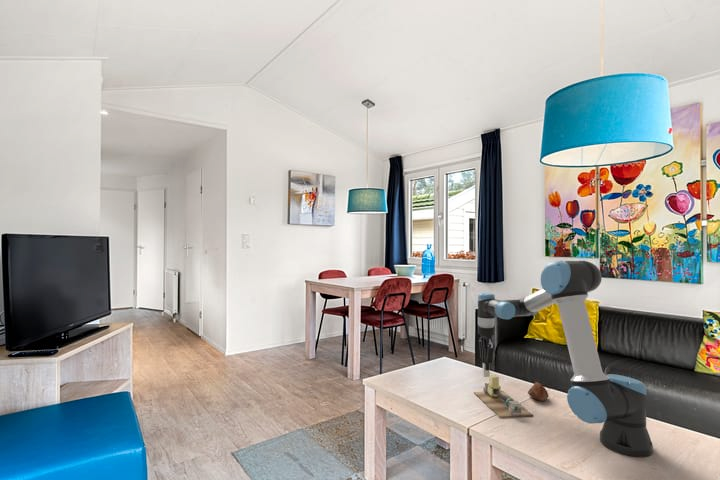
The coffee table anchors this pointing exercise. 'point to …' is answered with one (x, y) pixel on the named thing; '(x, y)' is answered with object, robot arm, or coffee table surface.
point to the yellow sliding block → (493, 385)
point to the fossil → (538, 392)
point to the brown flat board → (502, 404)
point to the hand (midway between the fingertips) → (486, 376)
